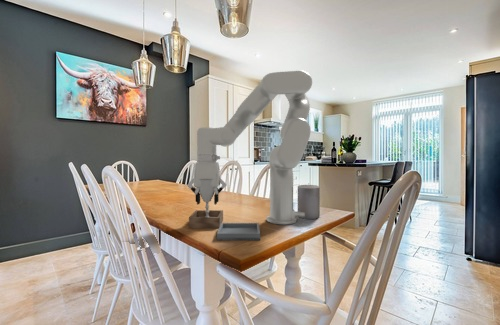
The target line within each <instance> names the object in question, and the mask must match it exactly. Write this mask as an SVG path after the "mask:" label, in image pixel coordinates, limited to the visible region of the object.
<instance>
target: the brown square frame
mask: <svg viewBox="0 0 500 325" xmlns="http://www.w3.org/2000/svg"><path fill="white" fill-rule="evenodd" d="M208 210H209V209H208ZM205 211H206V209H202V210H201V209H200V210H197V209H196V210H195V211H193V213H192V214H191V215H190V216H189V217H188V229H219V227H220V225H221V223H223V221H224V210H223V209H222V210H221V209H220V210H213V209H212V210H209V211H210V212H209V214H208V215H209V217H205V216H206V212H205Z"/></svg>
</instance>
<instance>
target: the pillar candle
mask: <svg viewBox="0 0 500 325" xmlns="http://www.w3.org/2000/svg"><path fill="white" fill-rule="evenodd" d="M320 190H321V189H320V186H319V185H315V184H314V185H313V184H310V183H308V184H301V185H300V184H299V185H297V211H300V212H304V213H305V217H299V218H301V219H304V218H305V220H315V219H316V218H317V219H319V218H320V216H321V214H320V212H321V211H320V209H321V208H320V206H321V205H320V200H321V199H320V197H321V196H320V192H321V191H320ZM317 219H316V220H317Z"/></svg>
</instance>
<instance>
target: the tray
mask: <svg viewBox="0 0 500 325" xmlns="http://www.w3.org/2000/svg"><path fill="white" fill-rule="evenodd" d="M216 241H261V229H260V223H259V222H222V223H221V225H220V227H219V228H218V230H217V233H216Z"/></svg>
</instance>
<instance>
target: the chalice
mask: <svg viewBox="0 0 500 325" xmlns="http://www.w3.org/2000/svg"><path fill="white" fill-rule="evenodd" d="M200 181H201V187H200V189H199V193H200V198H201V199H202V201H203V202H204V203H205V207H204V208H205V210H206V211H205V212H206V216H205V217H209V215H208V214H209V212H210V211H209V209H210V206H209V203H210V202H211V201H212V199H213V198H214V195H215V191H214V189H213V187H212V185H211V181H212V180H200Z"/></svg>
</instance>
